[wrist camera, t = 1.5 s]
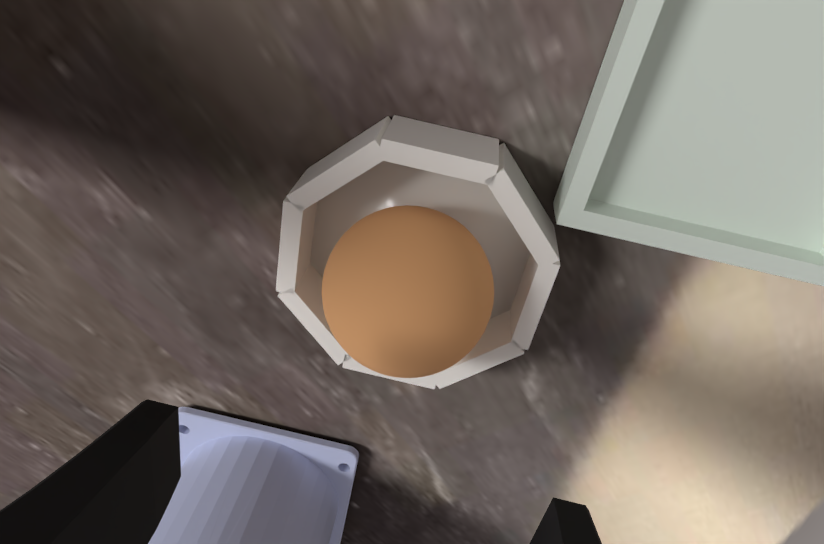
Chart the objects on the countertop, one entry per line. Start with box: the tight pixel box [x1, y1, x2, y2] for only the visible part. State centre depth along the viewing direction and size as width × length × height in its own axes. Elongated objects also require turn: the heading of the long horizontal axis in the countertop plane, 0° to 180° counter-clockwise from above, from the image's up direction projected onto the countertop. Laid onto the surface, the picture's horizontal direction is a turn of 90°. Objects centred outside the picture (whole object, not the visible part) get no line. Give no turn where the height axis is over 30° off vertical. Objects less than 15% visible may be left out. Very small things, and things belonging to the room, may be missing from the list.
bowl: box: [276, 115, 560, 389], centre depth 19 cm, size 8×8×2 cm
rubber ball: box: [321, 205, 494, 378], centre depth 17 cm, size 5×5×5 cm
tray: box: [553, 0, 824, 286], centre depth 15 cm, size 11×8×2 cm
